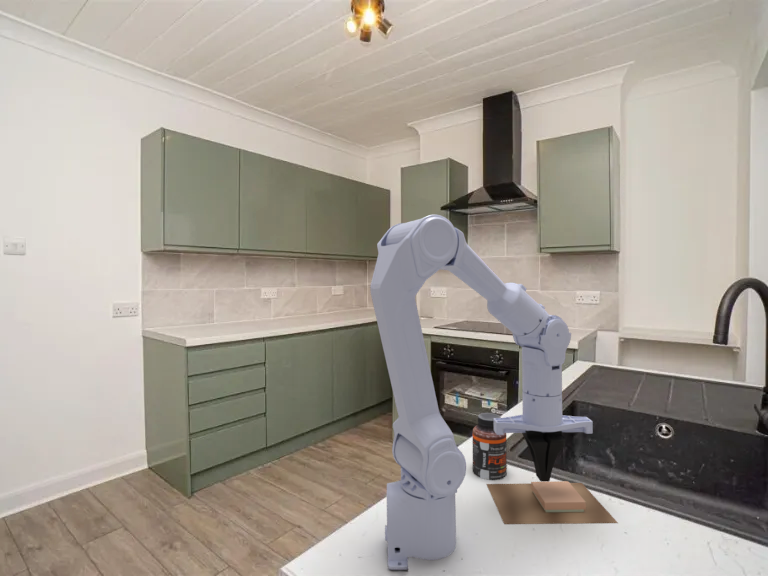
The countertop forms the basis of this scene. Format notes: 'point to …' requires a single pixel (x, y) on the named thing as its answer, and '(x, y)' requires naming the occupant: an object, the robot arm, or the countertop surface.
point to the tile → (558, 496)
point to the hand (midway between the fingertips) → (542, 478)
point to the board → (526, 509)
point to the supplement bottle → (489, 449)
